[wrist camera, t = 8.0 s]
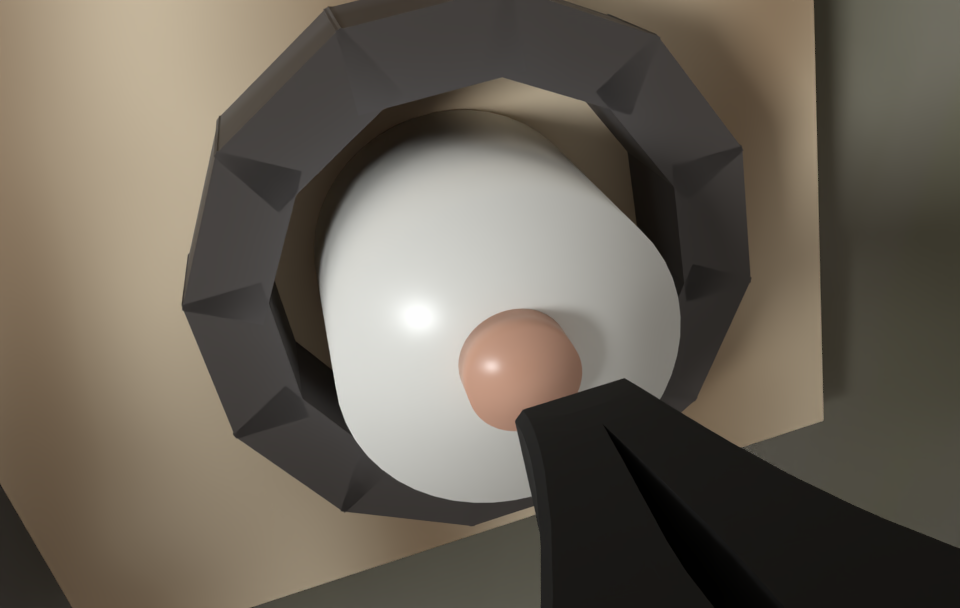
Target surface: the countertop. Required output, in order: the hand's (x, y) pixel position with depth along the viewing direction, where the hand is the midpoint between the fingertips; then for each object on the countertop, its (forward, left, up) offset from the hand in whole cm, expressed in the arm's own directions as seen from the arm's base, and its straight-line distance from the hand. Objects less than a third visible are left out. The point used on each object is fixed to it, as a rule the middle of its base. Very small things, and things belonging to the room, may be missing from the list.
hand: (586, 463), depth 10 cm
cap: (0, 0, -7) cm, 7 cm away
